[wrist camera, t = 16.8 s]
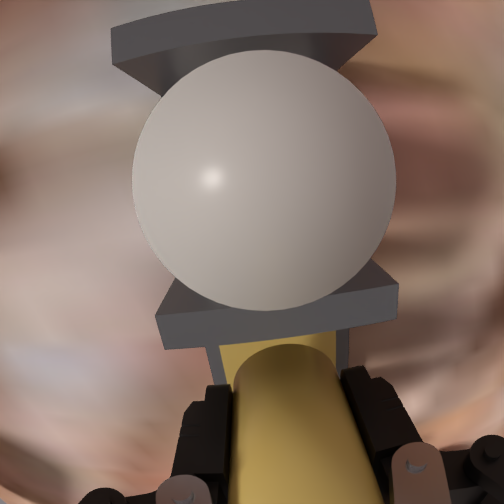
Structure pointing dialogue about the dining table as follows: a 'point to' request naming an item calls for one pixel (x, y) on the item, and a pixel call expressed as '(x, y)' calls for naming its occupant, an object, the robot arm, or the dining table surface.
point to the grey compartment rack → (185, 61)
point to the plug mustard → (295, 433)
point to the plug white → (264, 180)
